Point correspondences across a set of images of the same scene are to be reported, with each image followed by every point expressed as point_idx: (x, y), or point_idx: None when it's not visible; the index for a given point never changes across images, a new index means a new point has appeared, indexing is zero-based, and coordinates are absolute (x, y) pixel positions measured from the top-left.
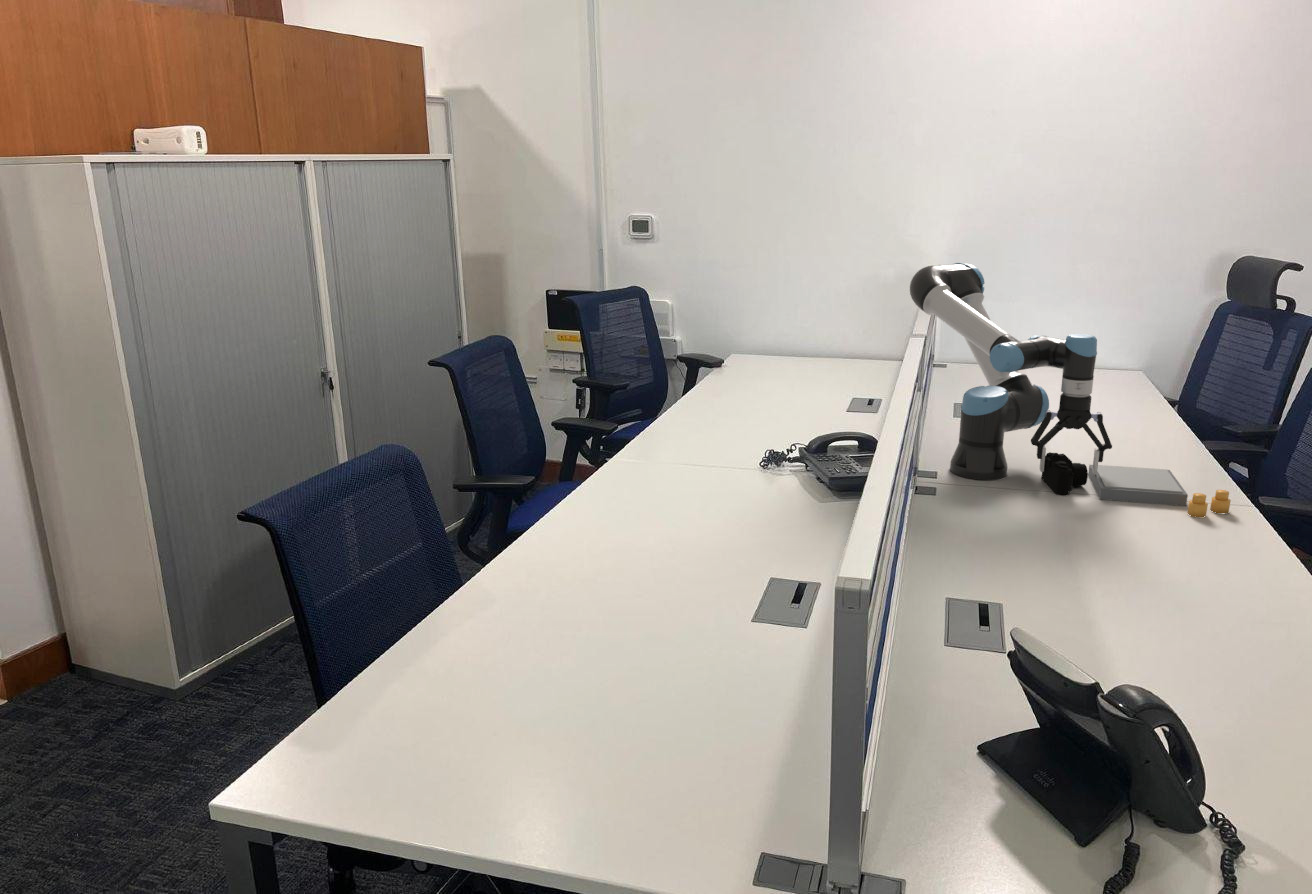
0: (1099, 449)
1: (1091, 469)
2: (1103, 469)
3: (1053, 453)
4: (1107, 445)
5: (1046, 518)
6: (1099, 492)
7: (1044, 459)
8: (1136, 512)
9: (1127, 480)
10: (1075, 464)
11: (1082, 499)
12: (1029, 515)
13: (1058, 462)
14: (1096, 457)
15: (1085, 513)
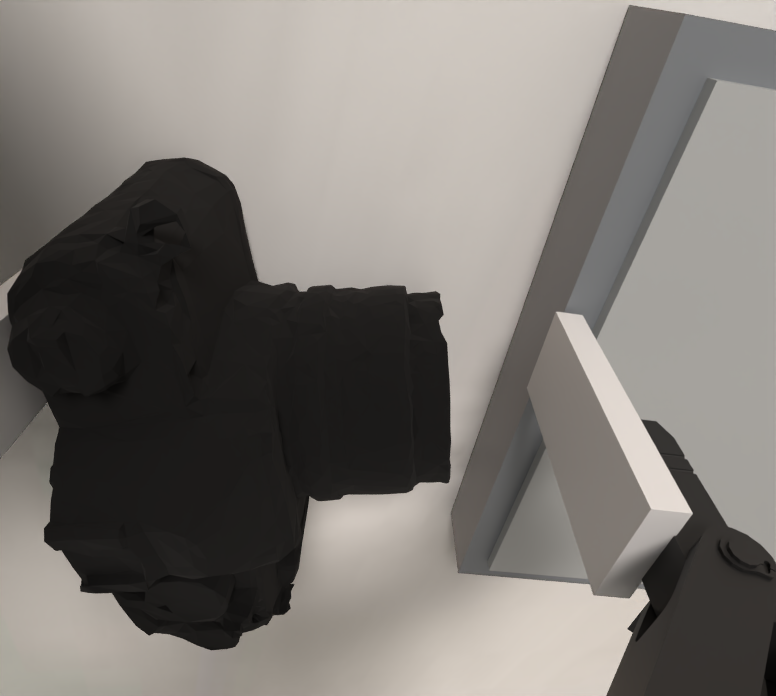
0: (651, 597)
1: (606, 198)
2: (701, 265)
3: (76, 548)
4: (765, 691)
5: (165, 659)
6: (462, 516)
7: (26, 419)
8: (547, 608)
9: (708, 490)
10: (349, 479)
11: (358, 515)
12: (100, 646)
13: (156, 607)
14: (576, 524)
15: (325, 625)
